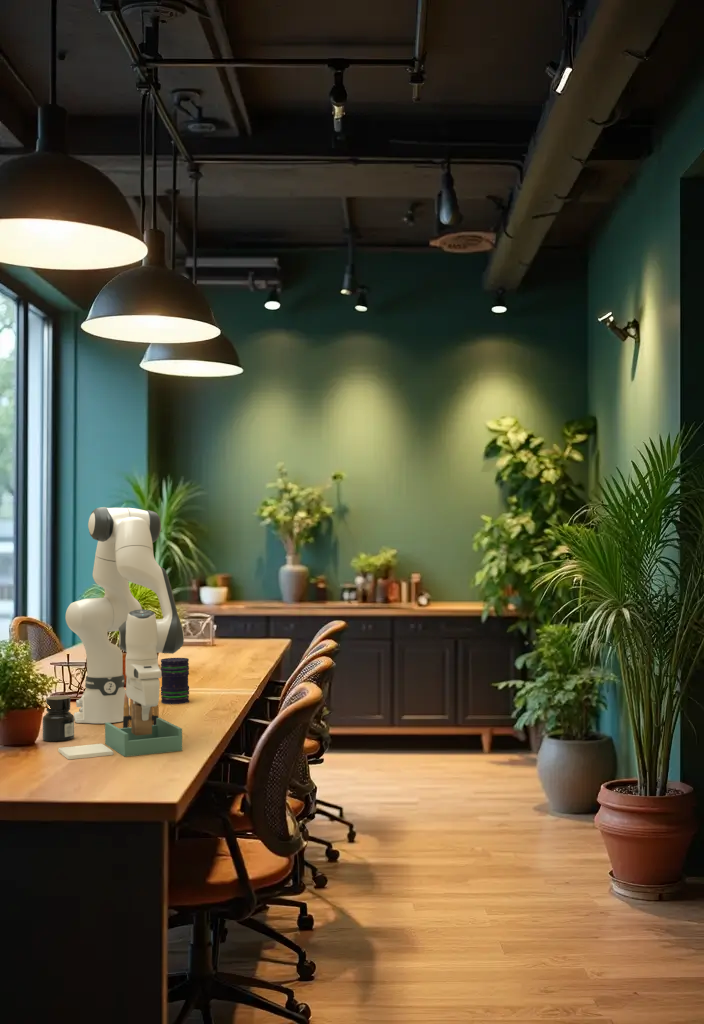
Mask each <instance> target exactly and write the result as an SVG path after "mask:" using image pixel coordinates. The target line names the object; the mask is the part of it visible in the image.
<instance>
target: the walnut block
mask: <svg viewBox="0 0 704 1024" xmlns="http://www.w3.org/2000/svg"><path fill="white" fill-rule="evenodd" d="M141 714H142V705H141V704H139V703H138V704H131V726H132V733H133V734H134V735H147V734H152V707H150V711H149V719H148V720H146V721H143V720H142V719H141Z"/></svg>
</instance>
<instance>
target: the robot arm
mask: <svg viewBox="0 0 704 1024" xmlns="http://www.w3.org/2000/svg"><path fill="white" fill-rule="evenodd" d="M161 521H162V520H161V518H160V516H159V515H158V513H157V512H156V511H153V510H149V509H146V510H144V509H140V508H134V507H133V508H132V507H106V506H101V507H97V508H94V510H93V511H91V513H90V515H89V518H88V523H87V527H88V530H89V535H90V537H92V539H93V540H95V541H97V543H96V549H95V555H94V556H95V557H94V561H93V568H92V569H93V570H92V578H93V581H94V583H95V584H96V585H98V586H99V587H101V588H103V589H104V594H103V595H104V596H102V597H95V598H94V597H91V598H83V599H79V600H76V601H74V602H71V603H70V604H69V605H68V607H67V608H66V610H65V611H66V612H65V623H66V625H67V627H68V628H69V630H70V631H72V632H73V633H74V634H76V635H77V637H78V639H80V641H81V643H82V644H83V647H84V650H85V656H86V657H85V658H86V675H87V676H85V681H84V683H85V685H84V687H85V690H84V691H83V693H82V695H81V698H79V699H76V701H75V705H76V706H75V707H76V708H79V709H78V711H77V712H76V711H75V712H74V713H73V716H74V723H76V724H77V723H78V724H79V723H80V724H82V723H83V724H105V723H107V722H109V723H110V724H112V723H114V724H115V723H120V722H123V716H124V697H125V693H126V695H127V697H128V705H129V715H130V699H132V700H133V704H138V703H139V704H141V705H142V714H141V719H142V720H143V721H146V720H148V719H149V711H150V707H155V706H157V705H158V706H159V702H160V701H159V700H160V692H161V685H160V683H161V681H160V679H162V676H161V667H160V666H159V663H158V662H159V659H158V658H159V656H158V654H159V653H161V654H170V655H171V654H172V655H174V653H176V652H177V651H179V650H180V649H181V648H182V647H183V646H184V643H185V632H184V628H183V625H182V622H181V619H180V617H179V614H178V613H179V612H178V609H177V606H176V601H175V597H174V592H173V589H172V586H171V583H170V579H169V575H168V574H167V571H166V569H165V568H163V567H162V566H160V564H159V563H158V562H157V561H156V559H155V556H154V544H153V543H155V542H156V541H157V540H158V539H159V537H160V535H161V531H162V524H161ZM129 582H130V583H132V584H135V585H139V586H141V587H144V588H147V589H149V590H151V591H152V592H154V593H155V594H156V596H157V598H158V602H159V606H160V611H161V614H162V618H160V619H158V618H156V613H155V612H154V611H152V610H148V609H143V607H142V605H141V603H140V602H139V600H138V599H137V598H135V597H134V595H133V594H132V592H131V589H130V585H129V584H130V583H129ZM108 632H110V633H111V632H118V634H119V635H118V636H119V637H118V638H119V639H118V641H119V642H118V645H116V644H114V643H112V642H111V640H110V639H109V636H108ZM122 650H123V652H125V653H126V655H125V675H124V674H123V673H124V671H123V670H124V669H123V668H124V667H123V665H124V663H123V657H124V656H123V652H122ZM125 676H126V680H125ZM124 686H125V688H124Z"/></svg>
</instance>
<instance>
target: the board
mask: <svg viewBox="0 0 704 1024" xmlns="http://www.w3.org/2000/svg"><path fill="white" fill-rule="evenodd" d="M57 748H58V749H57V750H58V751H57V752H58V753H59V754H60V755H62V756H63V757H65V758H66V759H67V760H79V759H89V758H96V757H105V756H114V750H113V749H112V748H111V749H110V747H109V746H107V745H106V744H103V743H94V744H85V745H75V746H65V747H64V746H63V747H57Z"/></svg>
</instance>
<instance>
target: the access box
mask: <svg viewBox="0 0 704 1024" xmlns="http://www.w3.org/2000/svg"><path fill="white" fill-rule="evenodd" d="M156 724H157V725H152V734H147V735H134V734H133V733H132V727H130V726H129V728H123V727H121V728H119V727H117V726H116V725H114V724H112V723H109V722H107V723H104V743H105V744H104V745H105V746H107V747H108V748H111V750H113V751H115V752H117V753H118V754H120V755H121V756H123V757H124V758H125V757H136V756H145V755H154V754H163V753H165V754H166V753H171V752H183V728H181V727H180V726H177V725H175V724H174V723H172V722H169V721H168V720H165V719H163V718H162V717H159V718H156Z"/></svg>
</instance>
